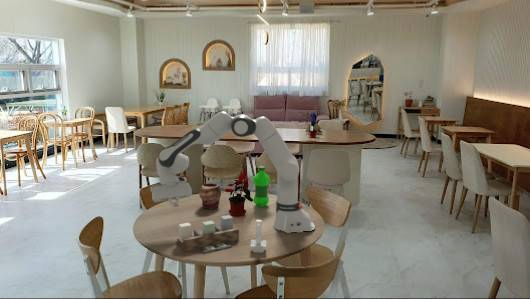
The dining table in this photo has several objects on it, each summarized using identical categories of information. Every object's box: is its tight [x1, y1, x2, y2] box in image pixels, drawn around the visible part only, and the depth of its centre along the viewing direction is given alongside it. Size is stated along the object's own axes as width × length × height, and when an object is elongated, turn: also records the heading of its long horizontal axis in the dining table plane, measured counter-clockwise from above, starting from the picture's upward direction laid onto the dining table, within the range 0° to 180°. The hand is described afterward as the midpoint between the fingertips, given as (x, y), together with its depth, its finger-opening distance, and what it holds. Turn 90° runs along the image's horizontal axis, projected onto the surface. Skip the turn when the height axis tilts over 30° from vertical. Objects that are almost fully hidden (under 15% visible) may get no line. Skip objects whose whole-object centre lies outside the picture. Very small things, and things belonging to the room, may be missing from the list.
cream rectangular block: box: [178, 222, 193, 243], centre depth 193 cm, size 5×4×8 cm
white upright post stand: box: [250, 219, 267, 254], centre depth 186 cm, size 7×9×15 cm
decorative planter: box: [198, 182, 222, 210], centre depth 247 cm, size 20×12×14 cm, turn 162°
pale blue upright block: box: [220, 214, 234, 231], centre depth 204 cm, size 5×4×8 cm
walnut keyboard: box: [176, 225, 240, 254], centre depth 194 cm, size 28×18×6 cm, turn 120°
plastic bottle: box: [252, 165, 271, 208], centre depth 248 cm, size 10×10×25 cm
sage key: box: [201, 220, 216, 235], centre depth 196 cm, size 5×4×8 cm
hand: (175, 206), depth 203 cm, fingers closed
